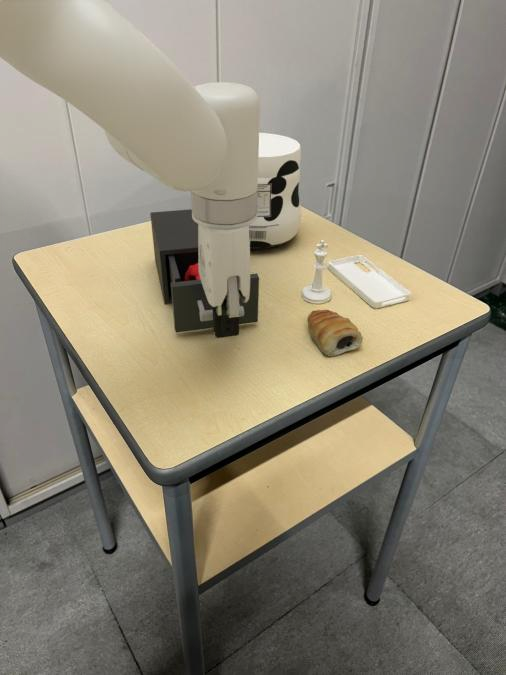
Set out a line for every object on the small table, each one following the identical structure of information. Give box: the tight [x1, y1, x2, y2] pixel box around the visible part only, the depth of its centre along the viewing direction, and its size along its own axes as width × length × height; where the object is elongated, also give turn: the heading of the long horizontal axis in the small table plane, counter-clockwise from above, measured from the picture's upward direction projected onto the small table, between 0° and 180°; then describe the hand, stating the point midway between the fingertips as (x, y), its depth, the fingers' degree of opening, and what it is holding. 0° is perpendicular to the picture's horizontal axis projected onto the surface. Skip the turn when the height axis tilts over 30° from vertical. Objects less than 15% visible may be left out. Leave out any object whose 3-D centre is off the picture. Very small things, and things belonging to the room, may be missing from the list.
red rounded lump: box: [185, 263, 201, 281], centre depth 79 cm, size 8×6×6 cm
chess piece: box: [300, 239, 332, 305], centre depth 83 cm, size 5×5×10 cm
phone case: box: [327, 254, 412, 309], centre depth 89 cm, size 7×1×15 cm
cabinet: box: [150, 208, 198, 305], centre depth 87 cm, size 15×14×10 cm
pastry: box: [307, 309, 364, 357], centre depth 76 cm, size 9×7×4 cm
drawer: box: [166, 252, 260, 334], centre depth 78 cm, size 18×12×8 cm
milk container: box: [249, 132, 302, 249], centre depth 98 cm, size 17×17×18 cm
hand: (226, 333), depth 70 cm, fingers closed
